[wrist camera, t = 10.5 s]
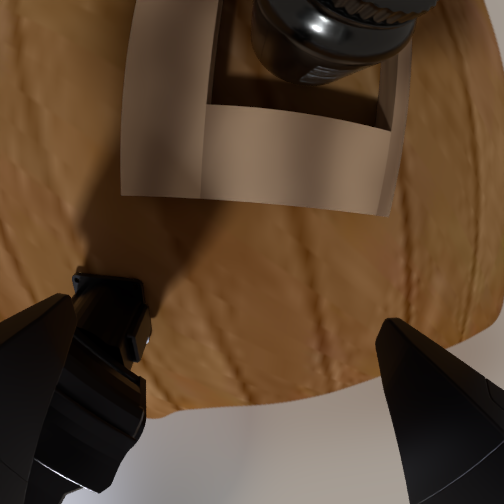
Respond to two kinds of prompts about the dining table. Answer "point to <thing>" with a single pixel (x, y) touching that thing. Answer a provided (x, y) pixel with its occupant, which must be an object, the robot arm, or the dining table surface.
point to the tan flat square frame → (245, 127)
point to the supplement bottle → (330, 35)
